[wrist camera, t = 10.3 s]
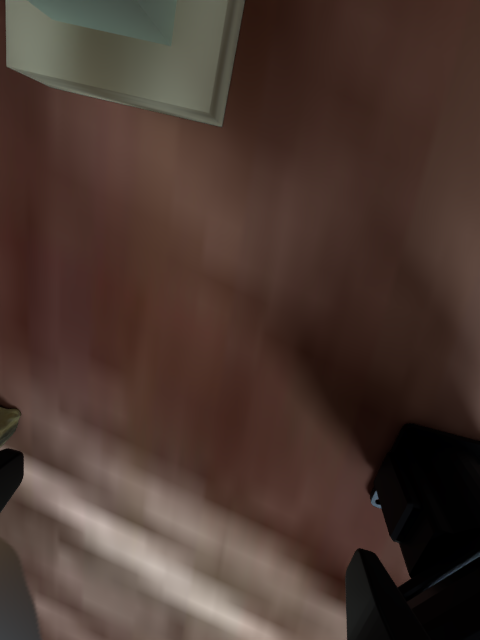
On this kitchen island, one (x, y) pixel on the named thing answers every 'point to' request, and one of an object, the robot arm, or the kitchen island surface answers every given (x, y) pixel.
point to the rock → (8, 423)
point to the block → (116, 16)
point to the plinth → (133, 59)
